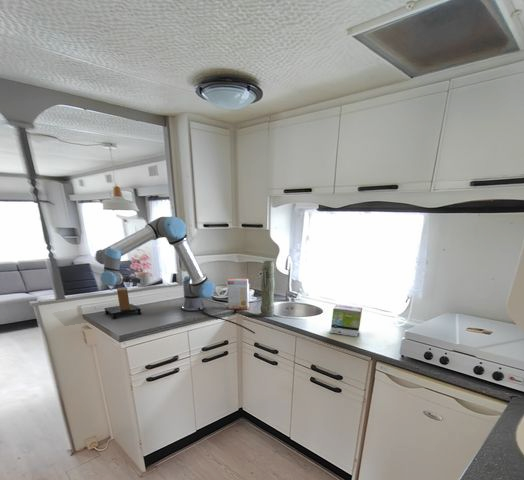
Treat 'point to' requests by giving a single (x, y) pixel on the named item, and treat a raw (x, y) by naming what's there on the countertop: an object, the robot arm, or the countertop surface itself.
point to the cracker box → (238, 294)
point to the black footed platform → (117, 310)
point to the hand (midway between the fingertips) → (126, 277)
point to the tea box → (346, 320)
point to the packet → (123, 298)
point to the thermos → (267, 289)
